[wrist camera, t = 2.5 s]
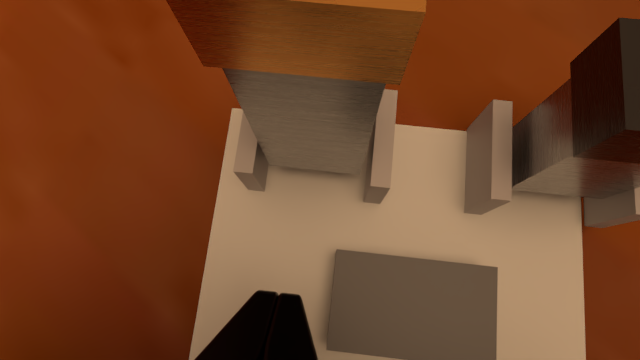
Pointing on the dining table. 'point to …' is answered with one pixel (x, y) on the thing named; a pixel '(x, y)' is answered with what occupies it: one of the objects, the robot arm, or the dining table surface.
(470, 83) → the dining table surface
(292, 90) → the orange lever
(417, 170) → the panel
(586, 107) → the black lever
